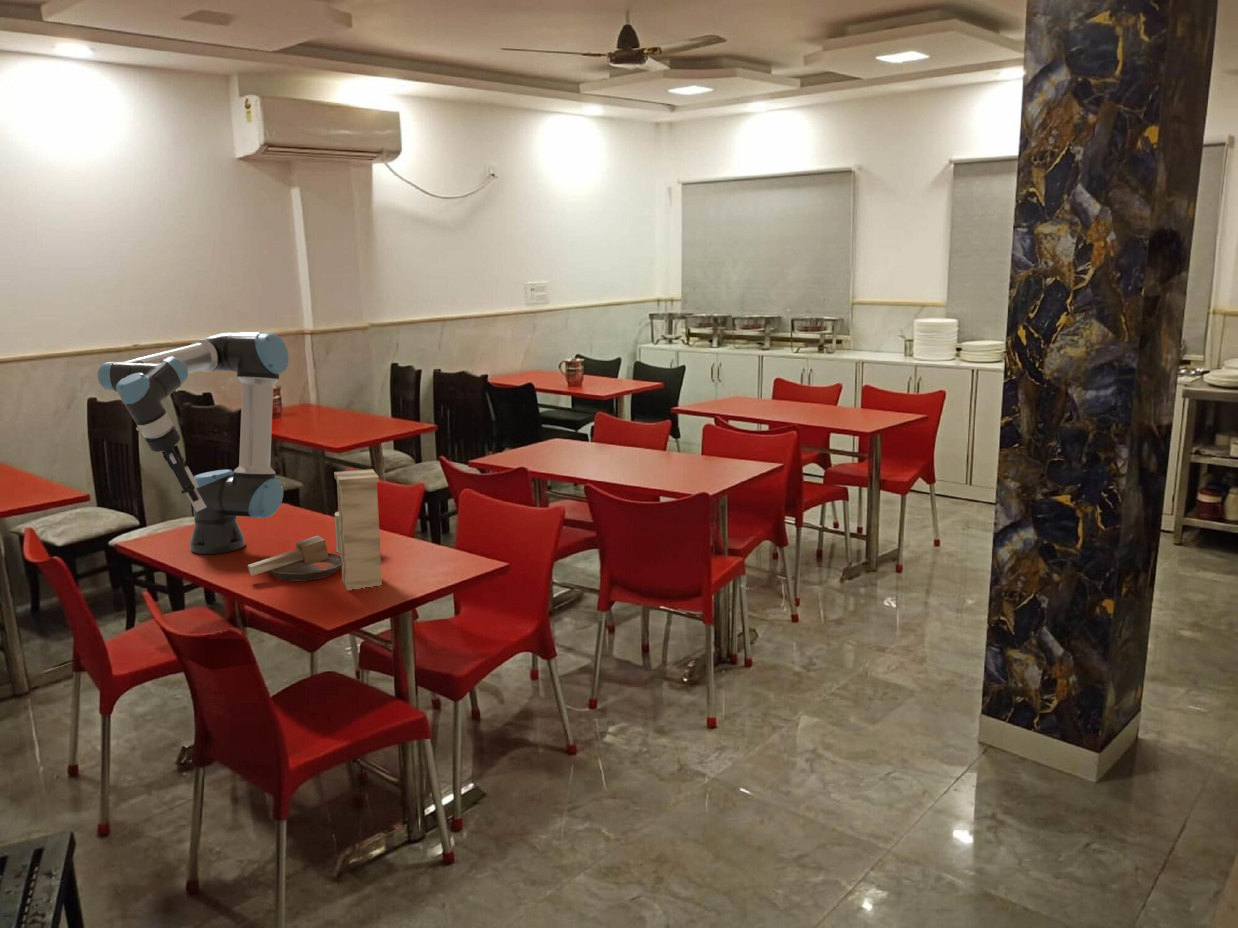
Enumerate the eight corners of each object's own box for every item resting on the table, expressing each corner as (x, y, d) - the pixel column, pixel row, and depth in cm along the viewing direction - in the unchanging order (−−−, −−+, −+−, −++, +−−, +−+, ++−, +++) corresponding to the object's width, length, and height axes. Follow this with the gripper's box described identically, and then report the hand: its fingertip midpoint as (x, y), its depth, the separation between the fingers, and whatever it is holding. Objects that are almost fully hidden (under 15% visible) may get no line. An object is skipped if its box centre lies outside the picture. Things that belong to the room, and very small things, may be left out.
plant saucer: (316, 557, 289) (315, 546, 288) (359, 571, 276) (358, 560, 275) (252, 574, 273) (251, 562, 272) (294, 590, 260) (293, 578, 260)
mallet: (249, 577, 267) (244, 558, 266) (321, 553, 278) (317, 535, 277) (255, 582, 263) (250, 563, 261) (328, 558, 274) (324, 539, 272)
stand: (340, 579, 267) (334, 472, 261) (377, 575, 271) (372, 469, 265) (345, 591, 258) (339, 479, 252) (384, 586, 262) (378, 476, 256)
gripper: (139, 421, 258) (177, 486, 269) (149, 456, 238) (190, 525, 249) (167, 409, 260) (204, 474, 272) (180, 442, 241) (218, 511, 252)
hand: (197, 498), depth 261 cm, fingers open, 13 cm apart
